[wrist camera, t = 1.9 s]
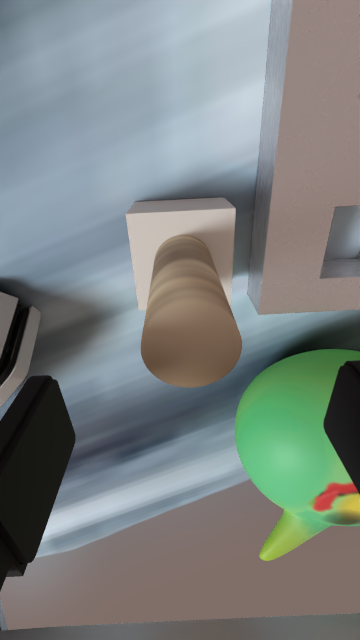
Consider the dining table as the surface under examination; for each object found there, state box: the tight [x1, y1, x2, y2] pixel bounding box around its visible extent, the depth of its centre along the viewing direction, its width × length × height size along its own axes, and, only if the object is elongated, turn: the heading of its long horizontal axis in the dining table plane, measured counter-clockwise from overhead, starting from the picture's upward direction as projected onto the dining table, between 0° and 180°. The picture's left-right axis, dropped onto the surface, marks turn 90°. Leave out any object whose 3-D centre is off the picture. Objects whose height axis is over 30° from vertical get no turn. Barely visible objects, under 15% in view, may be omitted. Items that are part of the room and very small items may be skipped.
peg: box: [141, 235, 242, 387], centre depth 16 cm, size 4×4×10 cm
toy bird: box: [235, 349, 360, 561], centre depth 27 cm, size 18×17×15 cm
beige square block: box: [126, 197, 236, 310], centre depth 22 cm, size 7×7×5 cm
